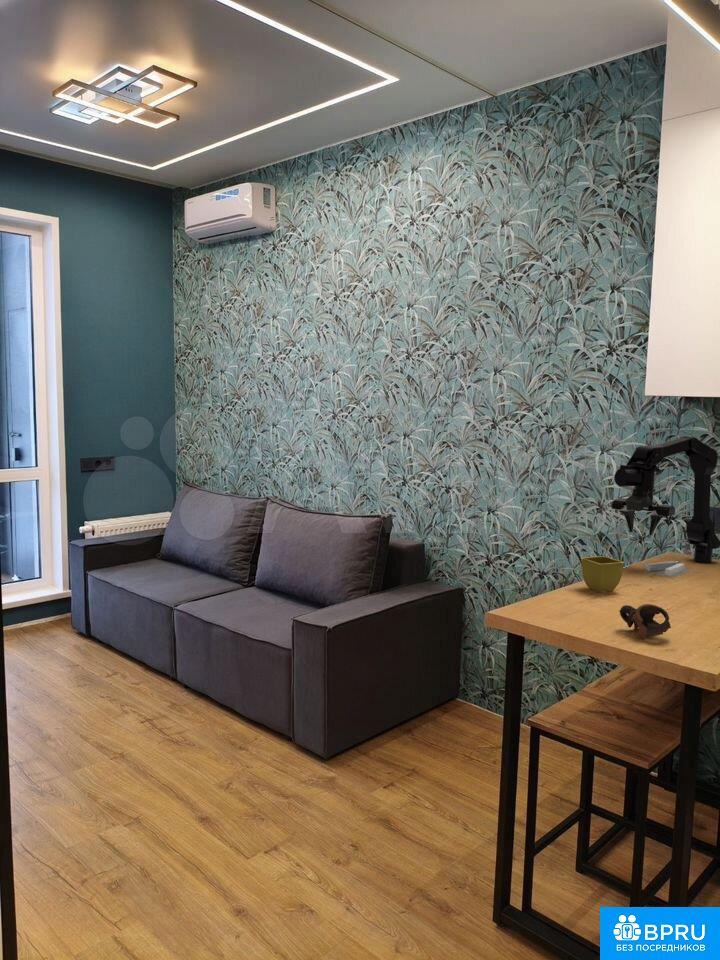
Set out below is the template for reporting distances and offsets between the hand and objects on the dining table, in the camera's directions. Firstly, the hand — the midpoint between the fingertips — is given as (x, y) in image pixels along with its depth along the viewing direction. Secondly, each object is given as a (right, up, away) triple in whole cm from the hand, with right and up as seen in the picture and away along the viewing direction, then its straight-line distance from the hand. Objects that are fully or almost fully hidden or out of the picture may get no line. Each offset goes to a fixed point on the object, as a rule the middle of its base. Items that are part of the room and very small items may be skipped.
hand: (640, 533), depth 241 cm
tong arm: (+7, -11, -1) cm, 13 cm away
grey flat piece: (+8, -13, -2) cm, 15 cm away
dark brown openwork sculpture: (-23, -20, -63) cm, 70 cm away
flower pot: (-21, -15, -24) cm, 35 cm away
